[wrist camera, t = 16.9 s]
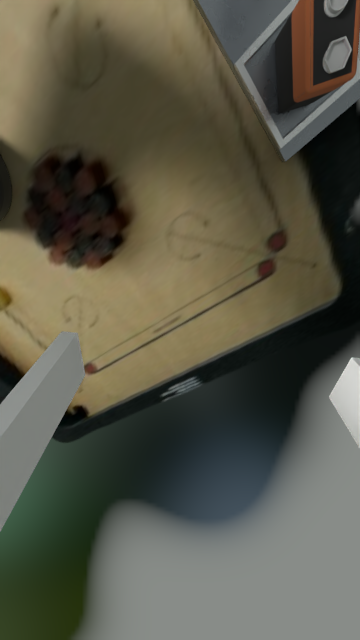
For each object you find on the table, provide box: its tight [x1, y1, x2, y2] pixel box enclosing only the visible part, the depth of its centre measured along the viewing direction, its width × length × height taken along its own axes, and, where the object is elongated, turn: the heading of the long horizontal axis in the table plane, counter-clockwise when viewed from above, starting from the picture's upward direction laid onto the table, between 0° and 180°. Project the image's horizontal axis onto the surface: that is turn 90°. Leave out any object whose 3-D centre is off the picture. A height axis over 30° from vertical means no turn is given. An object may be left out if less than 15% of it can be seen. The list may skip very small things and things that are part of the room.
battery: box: [275, 0, 360, 113], centre depth 24 cm, size 4×7×10 cm, turn 15°
